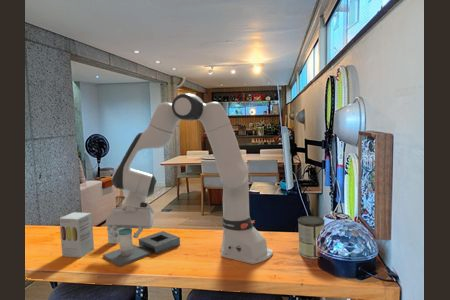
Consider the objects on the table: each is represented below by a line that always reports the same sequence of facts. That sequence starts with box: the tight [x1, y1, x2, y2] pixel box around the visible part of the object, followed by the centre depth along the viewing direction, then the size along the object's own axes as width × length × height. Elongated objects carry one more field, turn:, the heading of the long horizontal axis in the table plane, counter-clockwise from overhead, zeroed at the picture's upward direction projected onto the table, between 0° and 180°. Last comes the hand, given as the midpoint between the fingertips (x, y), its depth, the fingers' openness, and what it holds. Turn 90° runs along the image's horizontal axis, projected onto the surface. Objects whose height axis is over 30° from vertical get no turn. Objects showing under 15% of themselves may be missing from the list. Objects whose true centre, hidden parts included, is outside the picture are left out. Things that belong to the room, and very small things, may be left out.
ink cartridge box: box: [105, 219, 125, 244], centre depth 148 cm, size 9×5×15 cm, turn 168°
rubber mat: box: [102, 244, 151, 268], centre depth 130 cm, size 14×14×1 cm
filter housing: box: [138, 230, 181, 255], centre depth 139 cm, size 13×13×4 cm
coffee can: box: [297, 215, 326, 260], centre depth 125 cm, size 10×10×14 cm
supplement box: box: [59, 211, 95, 259], centre depth 135 cm, size 10×9×17 cm
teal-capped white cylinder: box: [118, 228, 133, 256], centre depth 130 cm, size 5×5×10 cm
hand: (124, 237), depth 129 cm, fingers open, 8 cm apart
